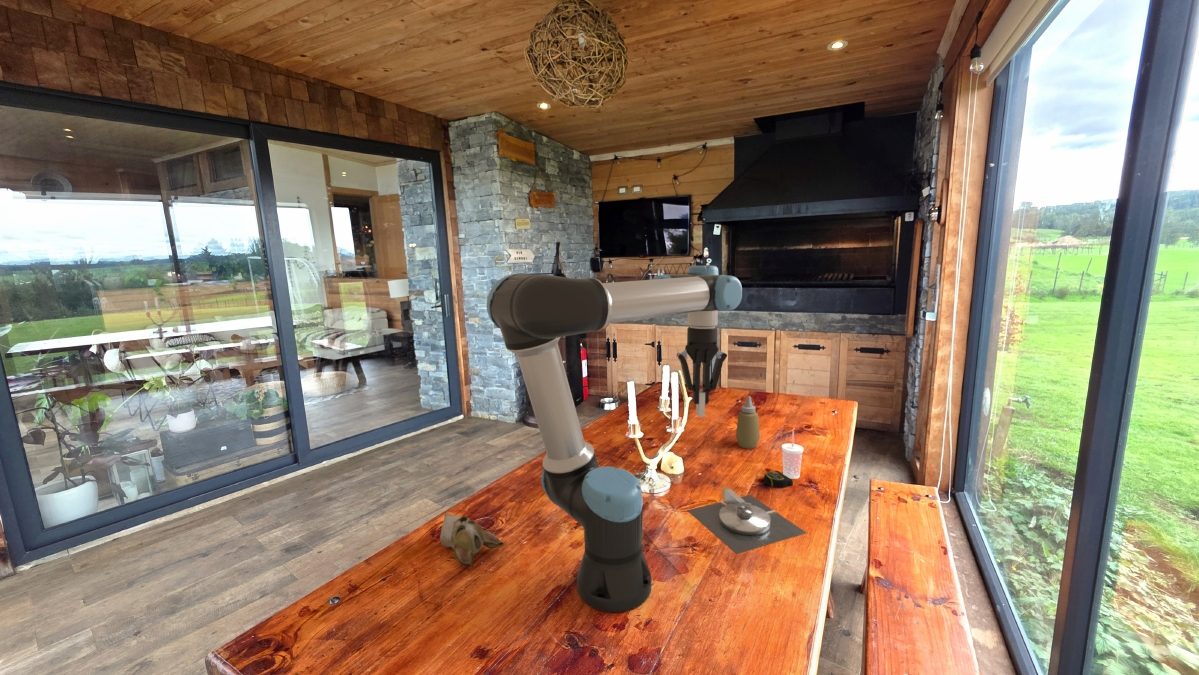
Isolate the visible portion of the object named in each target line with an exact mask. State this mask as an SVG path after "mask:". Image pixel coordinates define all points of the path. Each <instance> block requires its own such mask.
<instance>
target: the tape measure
mask: <svg viewBox="0 0 1199 675" xmlns="http://www.w3.org/2000/svg"><path fill="white" fill-rule="evenodd" d="M763 483H764V484H766V485H767V486H769V487H772V488H777V489H784V488H788V487H792V486H794V481H793V479H791V478H788V477H787V476H785V475H783V472H780V471H778V470H774V471H767V472H766V473H765V474H764V476H763Z"/></svg>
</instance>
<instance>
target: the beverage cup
mask: <svg viewBox="0 0 1199 675" xmlns="http://www.w3.org/2000/svg"><path fill="white" fill-rule="evenodd" d="M791 434H792V435H791V443H790V442H789V443H783V444H782V445H781V450H782V474H783V475H785V476H787V477H788V478H790V479H791V480H795V479H800V476H801V466H802V461H803V460H802V459H803V452H804V447H803V446H802V445H800V444H796V443H795V442H794V441H795V431H794V430H792V432H791Z"/></svg>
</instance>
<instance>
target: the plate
mask: <svg viewBox="0 0 1199 675" xmlns="http://www.w3.org/2000/svg"><path fill="white" fill-rule="evenodd" d="M740 497H741V498H742V499H743V500H744V501H745V504H750V505H754V506H757V507H759V508H761V509H763V510H764V511H766V512H767V513H768V514H769V516H770V528H769V529H768V531H766V532H764V533H762V534H758V535H744V534H739V533H735V532H733V531H730V530H728V529H727V528H725V527H724V526H723V525H722V524H721V523H720V520H719V512H720V509H721V508H722V507H724V506H726V505H728V503H727V502H726V501H725V500H724V501H723V500H719V502H716V503H712V504H709V505H704V506H700V507H696V508H691V509H688V510H687V512H688V513H689V514H691V516H693V517H694V518H695V519H696V520H697V521H699V522H700V523H701V524H702V525H703V526H704V527H706V528H707V530H709V531H710V533H712V534H713V535H714V536H716V537H717V538H718V539H719V540H720V541H721V542H722V543H723V544H724V545H725V546H726V547H728V549H730V550H731V551H732V552H734V553H735V554H736V555H738V554H741V553H745V552H748V551H751V550H755V549H758V548H762V547H765V546H768V545H772V544H776V543H777V542H778V543H779V542H781V541H785V540H789V539H792V538H794V537H799V536H802V535H805V534H807V532H806V531H804V530H803V529H801V527H799V526H797V525H796V524H795V523H793V522H792V521H791V520H788V519H787V518H785V517H784V516H783V515H781V514H780V513H778V512H777V511H776V510H775V509H772V508H771V507H769V506H768V505H766V504H765V503H763V502H762V501H761V500H759V499H758V498H756V497H755V496H753V495H751V494H749V495H745V496H740Z"/></svg>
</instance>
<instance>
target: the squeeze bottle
mask: <svg viewBox="0 0 1199 675" xmlns="http://www.w3.org/2000/svg"><path fill="white" fill-rule="evenodd" d="M756 409H757V408H756V406H755V405H753V402H752V397H751V395H747V396H746V399H745V403H744V404H743V405H741V411H739V412H738V416H737V425H736V432H735V437H736V438H735V439H737V444H738V445H739V447H741V448H743V449H748V450H749V449H750V450H751V449H755V448H757V445H758V443H759V441H760V439H761V438H760V436H761V433H760V423H759V422H760V421H759V420H760V419H759V414H758V413H757V412H756Z"/></svg>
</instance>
